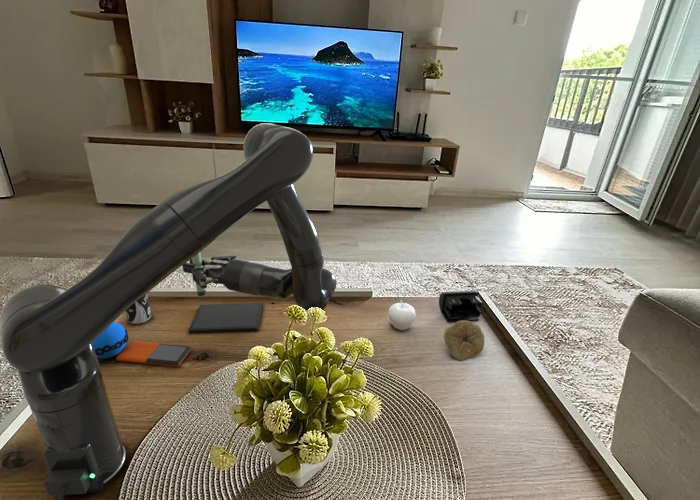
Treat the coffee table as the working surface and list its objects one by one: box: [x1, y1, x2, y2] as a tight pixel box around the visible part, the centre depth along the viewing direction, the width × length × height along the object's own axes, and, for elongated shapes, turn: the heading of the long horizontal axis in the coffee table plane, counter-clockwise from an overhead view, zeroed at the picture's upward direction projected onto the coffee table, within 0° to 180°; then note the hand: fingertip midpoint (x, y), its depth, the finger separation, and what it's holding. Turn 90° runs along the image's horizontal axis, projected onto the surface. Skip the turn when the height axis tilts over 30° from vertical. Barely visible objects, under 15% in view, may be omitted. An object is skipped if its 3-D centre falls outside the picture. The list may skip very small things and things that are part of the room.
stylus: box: [192, 252, 207, 297], centre depth 95 cm, size 2×2×13 cm
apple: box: [388, 299, 417, 331], centre depth 104 cm, size 7×7×8 cm
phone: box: [115, 340, 192, 368], centre depth 92 cm, size 6×1×15 cm
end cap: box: [438, 290, 483, 324], centre depth 110 cm, size 10×7×7 cm
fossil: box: [443, 321, 486, 361], centre depth 97 cm, size 9×4×10 cm
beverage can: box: [124, 293, 152, 325], centre depth 103 cm, size 6×6×12 cm
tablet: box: [188, 302, 263, 334], centre depth 106 cm, size 12×17×1 cm
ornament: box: [92, 321, 129, 359], centre depth 90 cm, size 9×9×10 cm
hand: (187, 264), depth 95 cm, fingers closed on stylus, 2 cm apart
